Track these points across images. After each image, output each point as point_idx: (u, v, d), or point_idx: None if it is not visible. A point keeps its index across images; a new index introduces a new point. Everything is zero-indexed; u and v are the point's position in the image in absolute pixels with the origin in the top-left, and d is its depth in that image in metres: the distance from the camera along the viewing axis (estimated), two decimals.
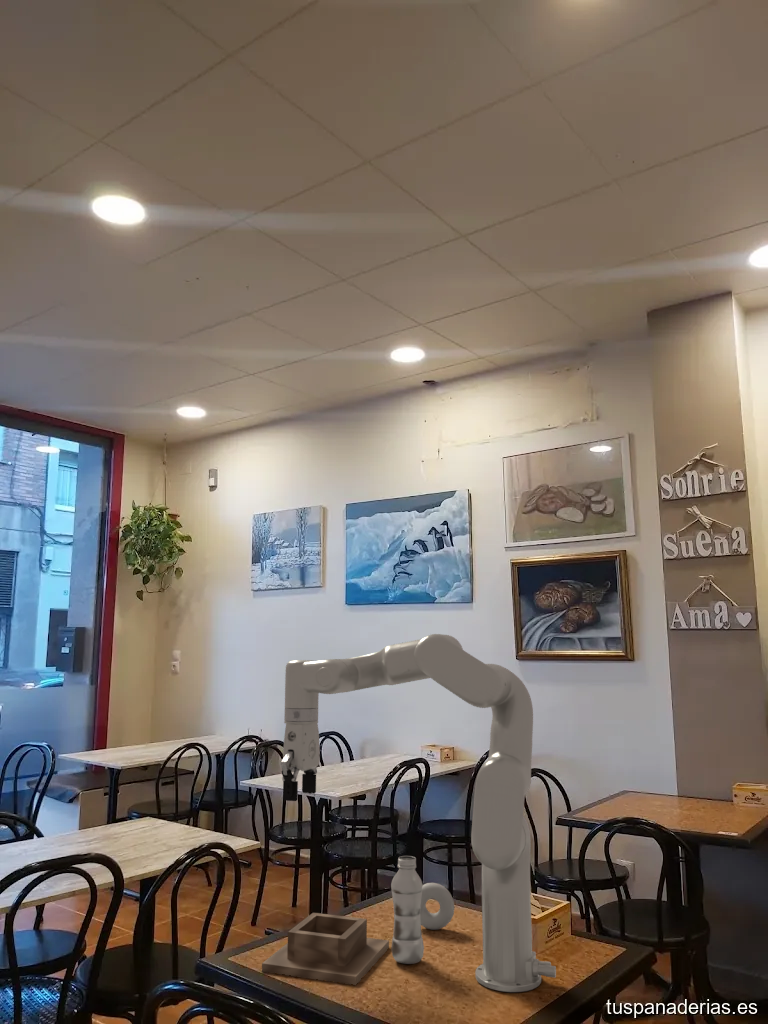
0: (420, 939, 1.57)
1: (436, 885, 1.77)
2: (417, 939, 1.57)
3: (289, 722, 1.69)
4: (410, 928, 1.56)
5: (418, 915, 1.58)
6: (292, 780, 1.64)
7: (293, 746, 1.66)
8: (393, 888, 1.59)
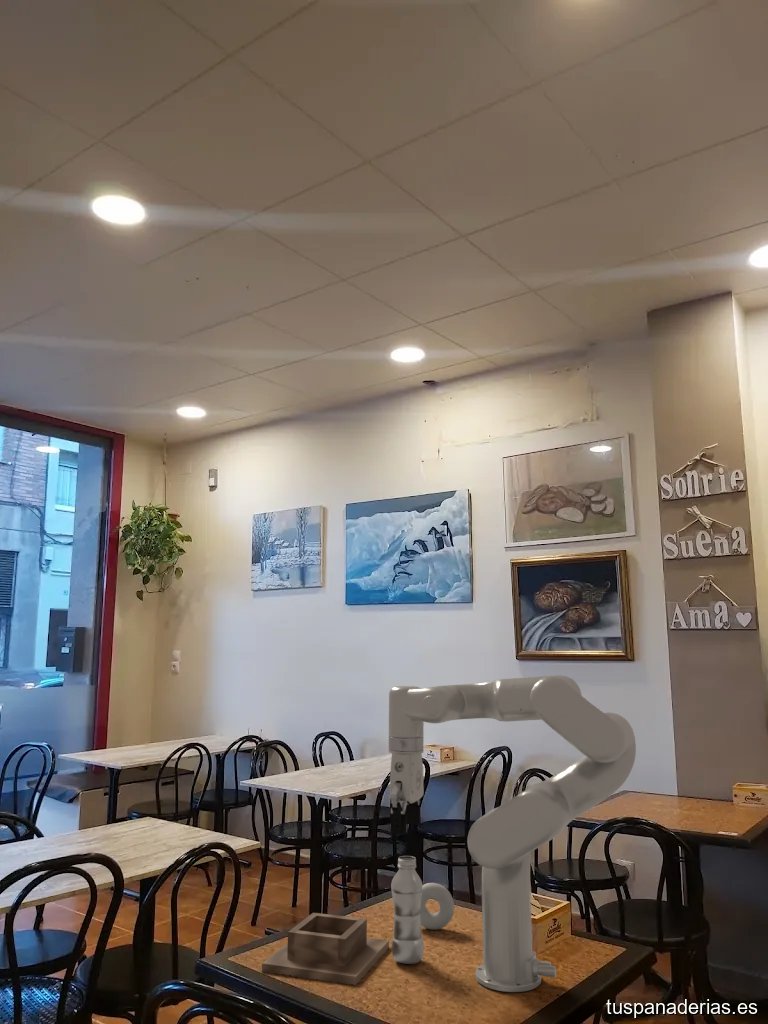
0: (420, 939, 1.57)
1: (436, 885, 1.77)
2: (417, 939, 1.57)
3: (395, 752, 1.62)
4: (410, 928, 1.56)
5: (418, 915, 1.58)
6: (401, 813, 1.57)
7: (401, 777, 1.60)
8: (393, 888, 1.59)
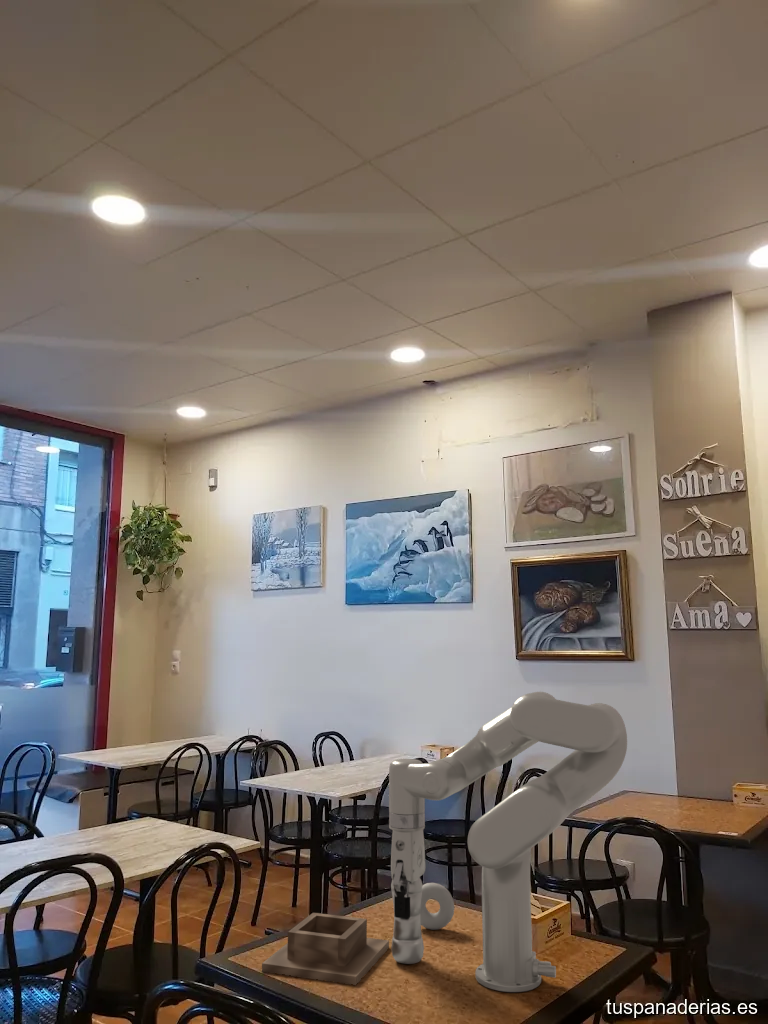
0: (420, 939, 1.57)
1: (436, 885, 1.77)
2: (417, 939, 1.57)
3: (396, 829, 1.60)
4: (410, 928, 1.57)
5: (418, 915, 1.58)
6: (405, 897, 1.56)
7: (402, 856, 1.57)
8: (393, 888, 1.59)
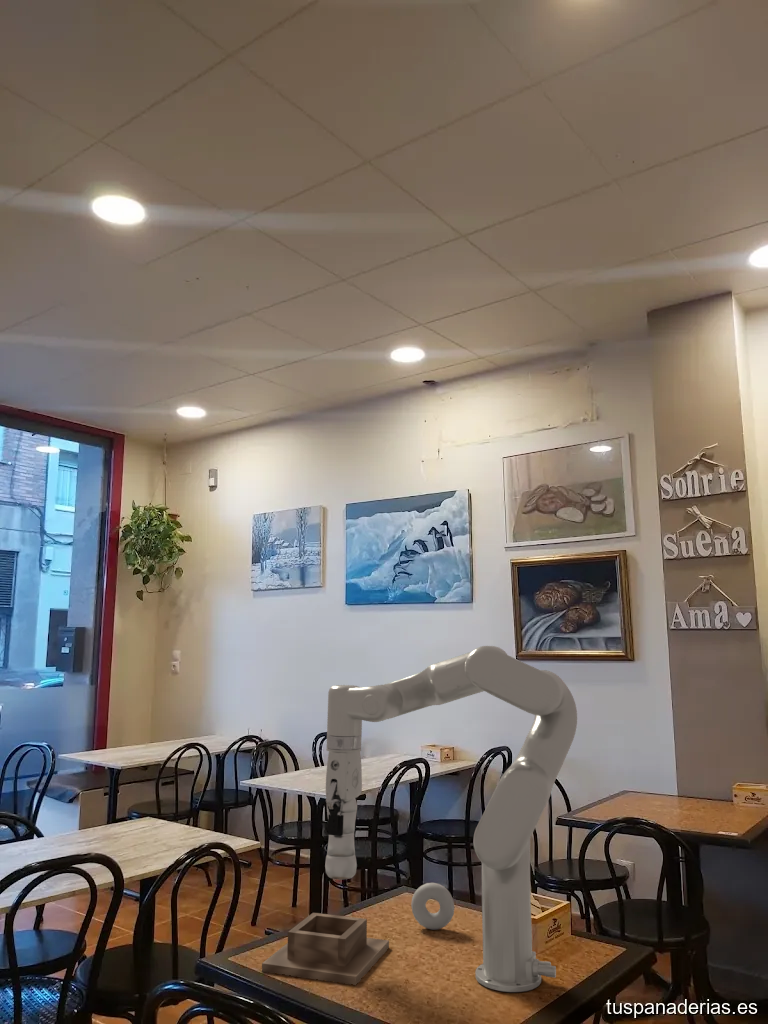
0: (353, 856, 1.61)
1: (436, 885, 1.77)
2: (350, 856, 1.61)
3: (332, 750, 1.64)
4: (342, 846, 1.61)
5: (351, 833, 1.62)
6: (338, 815, 1.60)
7: (336, 775, 1.61)
8: None
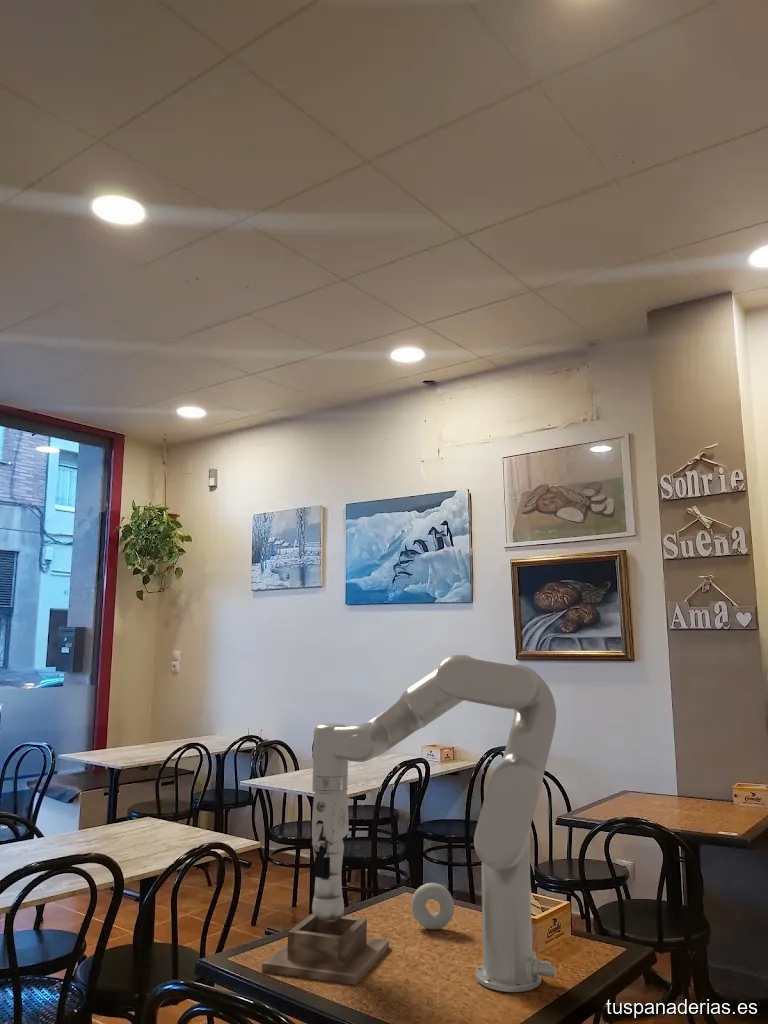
0: (340, 898, 1.60)
1: (436, 885, 1.77)
2: (337, 899, 1.59)
3: (318, 791, 1.62)
4: (329, 888, 1.59)
5: (338, 875, 1.61)
6: (325, 857, 1.58)
7: (322, 817, 1.59)
8: None
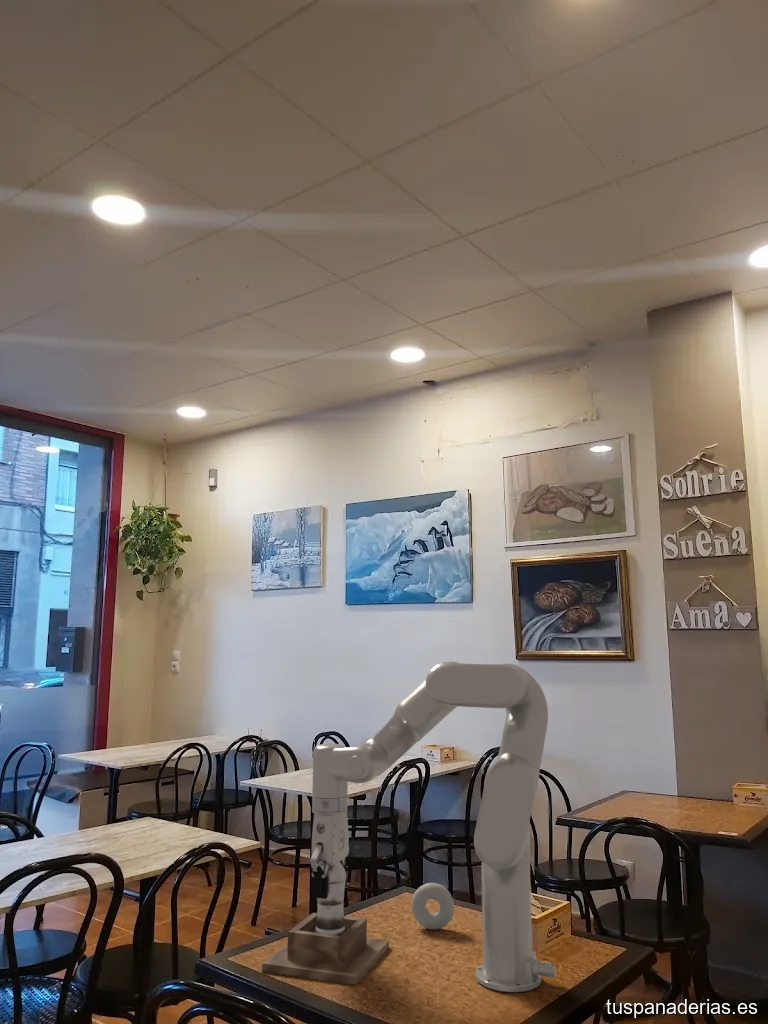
0: (342, 928, 1.59)
1: (436, 885, 1.77)
2: (339, 928, 1.59)
3: (317, 812, 1.61)
4: (331, 918, 1.58)
5: (340, 904, 1.60)
6: (322, 877, 1.56)
7: (322, 839, 1.59)
8: None
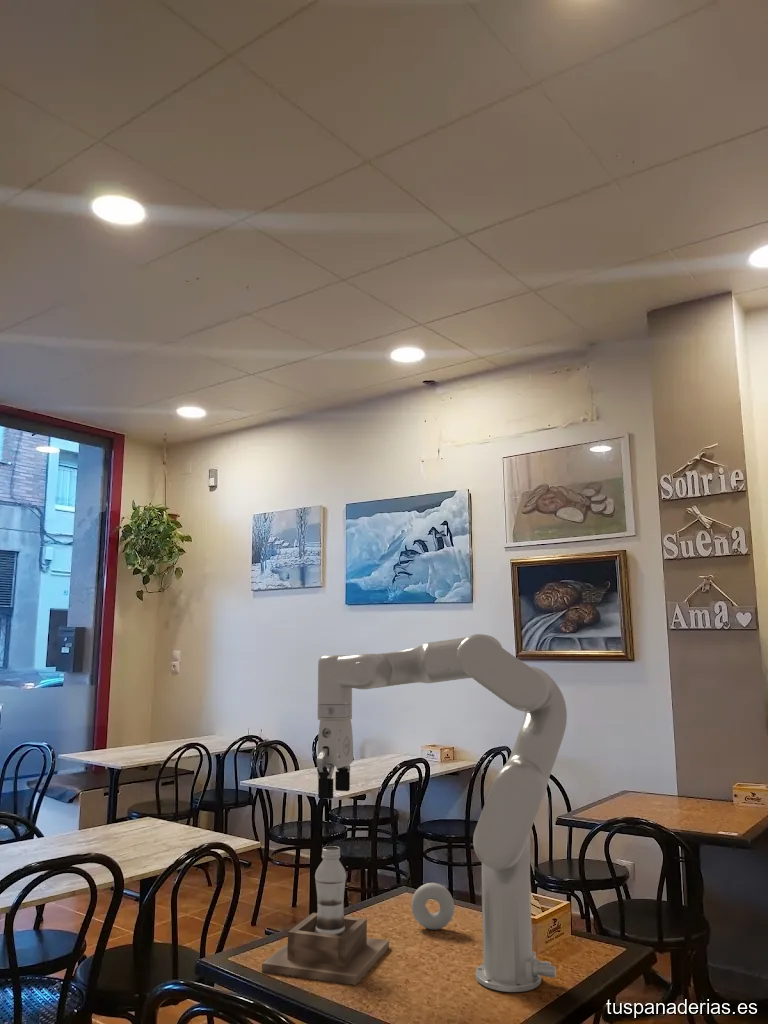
0: (342, 928, 1.59)
1: (436, 885, 1.77)
2: (339, 928, 1.59)
3: (323, 718, 1.65)
4: (331, 918, 1.58)
5: (341, 904, 1.60)
6: (328, 777, 1.60)
7: (328, 743, 1.63)
8: (316, 878, 1.61)
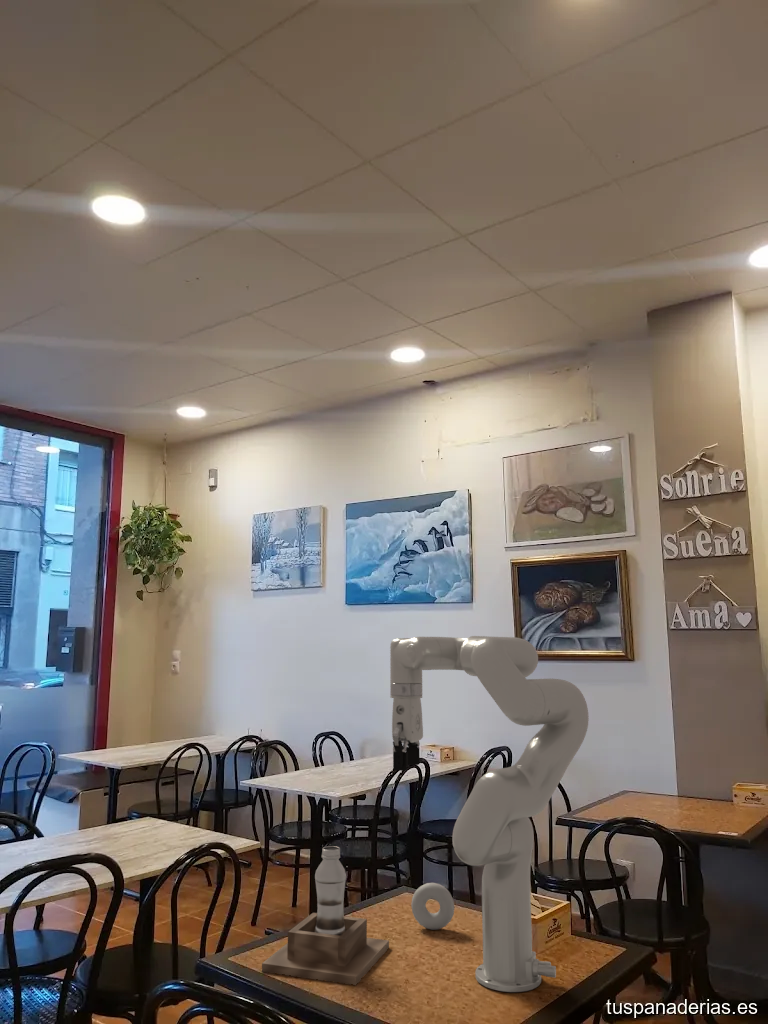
0: (342, 928, 1.59)
1: (436, 885, 1.77)
2: (339, 928, 1.59)
3: (396, 696, 1.78)
4: (331, 918, 1.58)
5: (340, 904, 1.60)
6: (402, 751, 1.72)
7: (402, 719, 1.75)
8: (316, 878, 1.61)
